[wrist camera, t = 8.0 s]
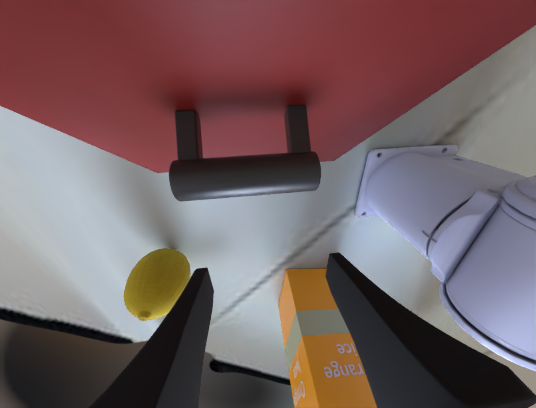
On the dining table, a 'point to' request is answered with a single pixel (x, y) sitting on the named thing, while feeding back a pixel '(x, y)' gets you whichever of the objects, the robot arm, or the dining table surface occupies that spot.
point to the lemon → (156, 283)
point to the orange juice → (319, 346)
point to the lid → (239, 78)
